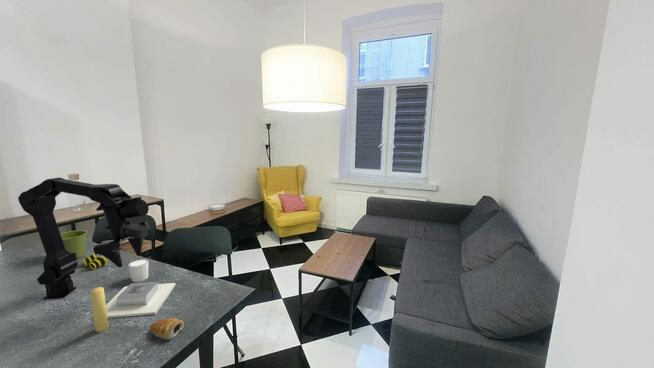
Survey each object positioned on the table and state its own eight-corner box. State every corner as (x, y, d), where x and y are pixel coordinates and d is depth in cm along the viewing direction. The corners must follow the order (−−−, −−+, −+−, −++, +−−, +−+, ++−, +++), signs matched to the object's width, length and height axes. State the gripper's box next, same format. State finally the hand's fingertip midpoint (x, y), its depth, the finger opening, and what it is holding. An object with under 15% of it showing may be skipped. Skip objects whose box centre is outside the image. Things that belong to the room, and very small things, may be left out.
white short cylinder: (139, 284, 107) (138, 267, 105) (125, 281, 108) (123, 265, 107) (153, 275, 113) (152, 260, 112) (140, 273, 114) (138, 258, 113)
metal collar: (117, 307, 91) (116, 297, 90) (131, 292, 100) (130, 283, 99) (146, 304, 93) (146, 295, 92) (158, 290, 101) (157, 281, 101)
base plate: (94, 319, 86) (94, 317, 86) (125, 288, 103) (125, 286, 103) (155, 314, 89) (155, 311, 89) (175, 284, 107) (175, 283, 106)
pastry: (143, 336, 80) (142, 325, 79) (161, 321, 86) (160, 310, 86) (170, 342, 78) (169, 330, 77) (187, 326, 84) (186, 315, 84)
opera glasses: (83, 267, 120) (79, 257, 118) (97, 260, 125) (93, 251, 123) (95, 272, 116) (91, 262, 114) (108, 265, 121) (105, 255, 119)
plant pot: (76, 250, 134) (72, 229, 132) (96, 252, 132) (93, 231, 130) (48, 261, 122) (44, 238, 120) (71, 263, 121) (67, 240, 119)
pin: (92, 332, 80) (86, 293, 78) (99, 325, 83) (94, 287, 81) (104, 331, 81) (99, 292, 78) (111, 324, 84) (106, 286, 82)
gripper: (118, 225, 84) (133, 270, 87) (156, 209, 102) (167, 246, 105) (85, 230, 84) (100, 275, 87) (128, 213, 103) (140, 251, 105)
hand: (130, 261), depth 96 cm, fingers open, 9 cm apart
